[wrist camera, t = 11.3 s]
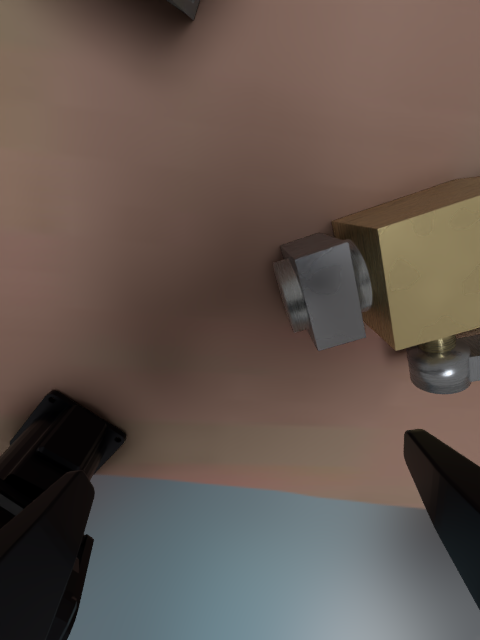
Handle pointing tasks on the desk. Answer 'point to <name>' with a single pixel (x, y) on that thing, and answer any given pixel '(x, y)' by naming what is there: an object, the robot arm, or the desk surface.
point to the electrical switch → (186, 6)
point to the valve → (390, 272)
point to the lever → (446, 367)
